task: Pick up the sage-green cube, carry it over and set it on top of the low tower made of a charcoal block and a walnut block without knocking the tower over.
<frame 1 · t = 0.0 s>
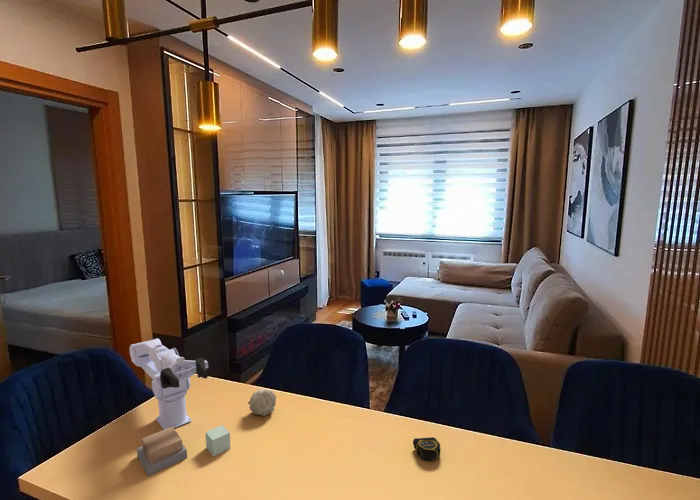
hand: (192, 379, 102), 22 cm above the table, fingers open, 7 cm apart
tower base: (162, 458, 103), on the table
tower top: (162, 448, 103), point 2 cm above the table
tape measure: (425, 454, 105), on the table
green cube: (218, 448, 107), on the table
garlic bulb: (261, 413, 124), on the table
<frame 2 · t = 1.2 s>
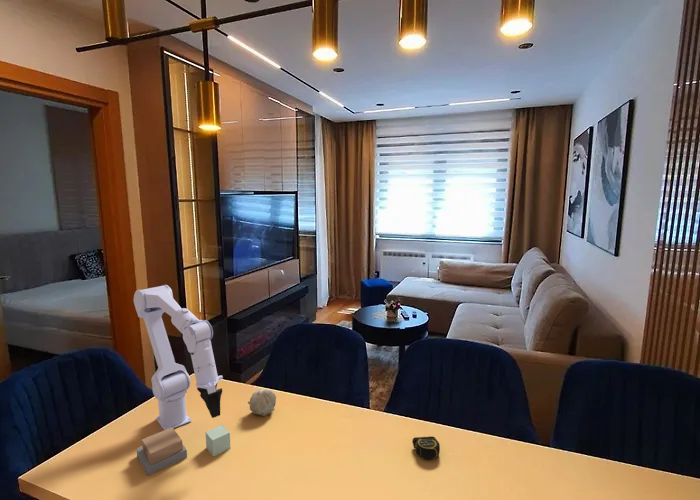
hand: (214, 412, 104), 11 cm above the table, fingers open, 7 cm apart
tower base: (162, 458, 103), on the table, touching tower top
tower top: (162, 449, 102), point 2 cm above the table, touching tower base
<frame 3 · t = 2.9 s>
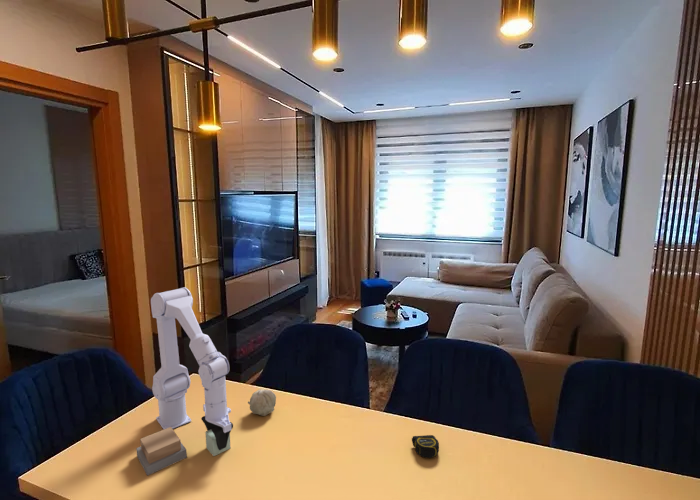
hand: (218, 443, 106), 1 cm above the table, fingers closed on green cube, 5 cm apart
tower base: (162, 458, 103), on the table
tower top: (161, 449, 102), point 2 cm above the table
green cube: (218, 447, 107), on the table, touching gripper
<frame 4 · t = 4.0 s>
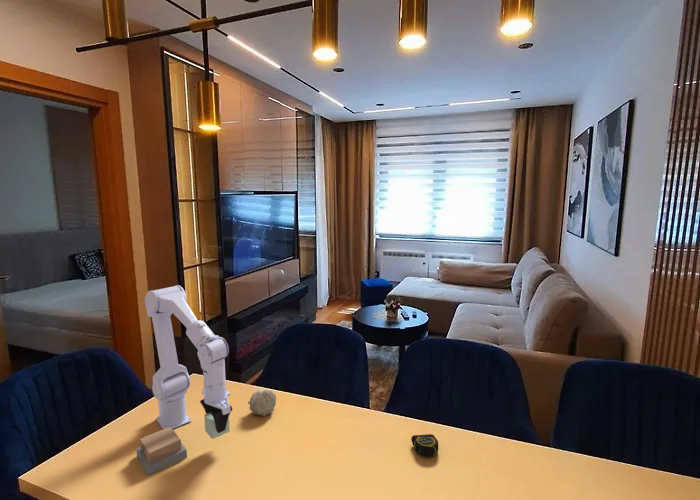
hand: (217, 426, 106), 7 cm above the table, fingers closed on green cube, 5 cm apart
tower base: (162, 458, 103), on the table, touching tower top
tower top: (161, 449, 103), point 2 cm above the table, touching tower base
green cube: (217, 431, 106), point 5 cm above the table, touching gripper
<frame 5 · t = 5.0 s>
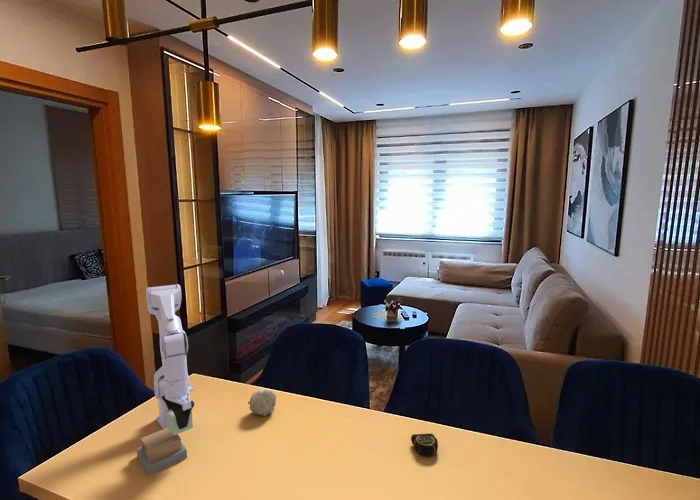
hand: (179, 422, 103), 9 cm above the table, fingers closed on green cube, 5 cm apart
green cube: (180, 427, 103), point 8 cm above the table, touching gripper
when the fingers open (8 cm above the table, at t = 6.2 s): green cube drops 1 cm, point 5 cm above the table.
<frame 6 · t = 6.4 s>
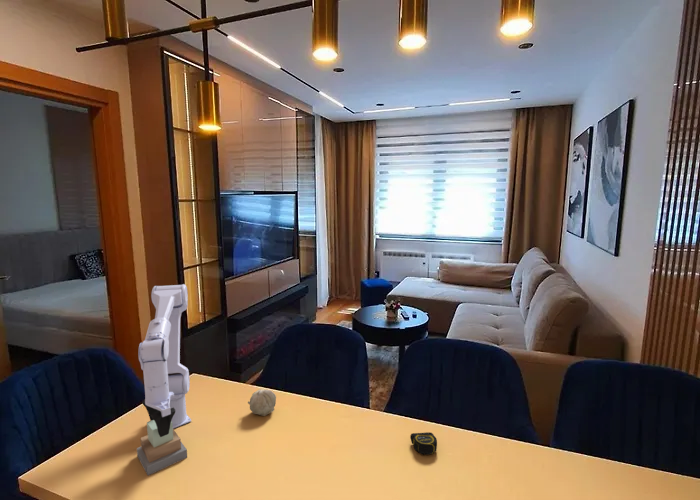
hand: (160, 429, 102), 8 cm above the table, fingers open, 6 cm apart
green cube: (160, 439, 102), point 5 cm above the table
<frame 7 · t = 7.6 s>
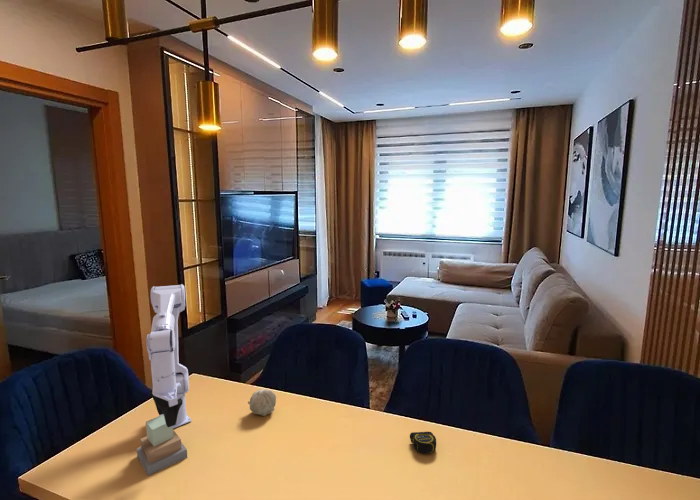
hand: (167, 419, 103), 10 cm above the table, fingers open, 7 cm apart
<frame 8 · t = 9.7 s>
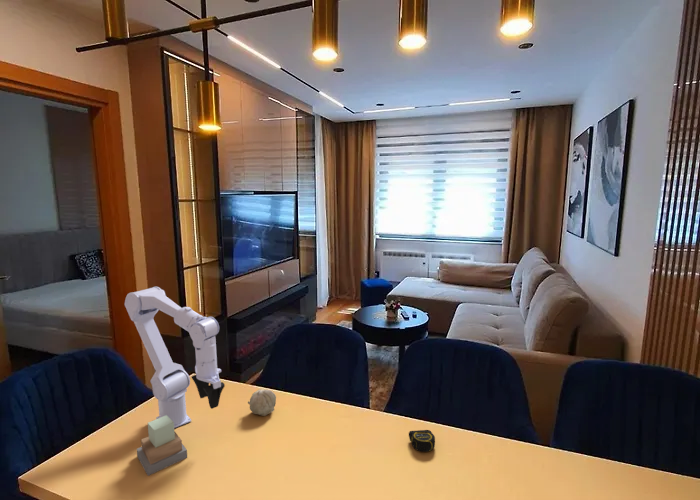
hand: (209, 401, 112), 10 cm above the table, fingers open, 7 cm apart
at the end: green cube 0.2 cm off-centre on the tower top, point 3.0 cm above the tower top's base; tower top 0.3 cm from the tower base (horizontally); green cube tilted 1° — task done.
